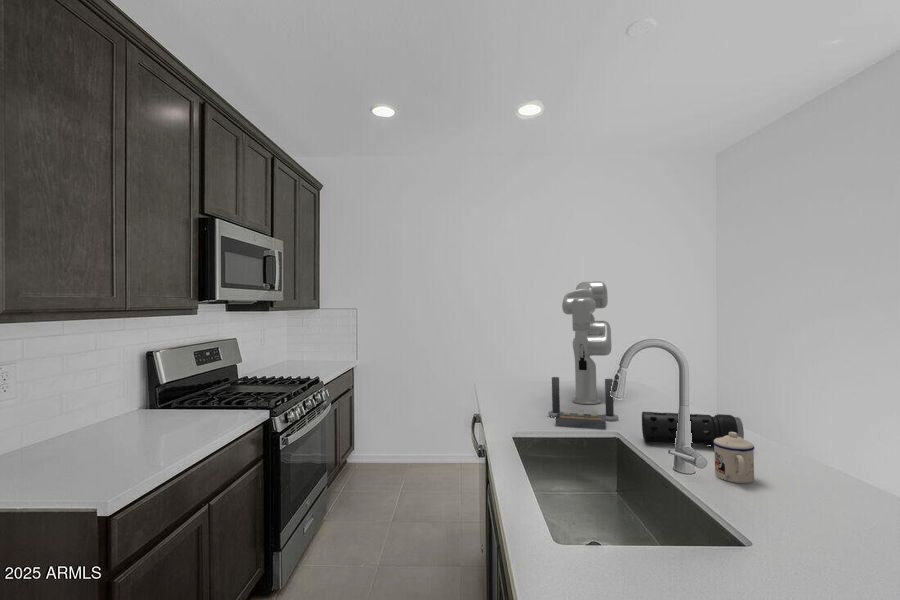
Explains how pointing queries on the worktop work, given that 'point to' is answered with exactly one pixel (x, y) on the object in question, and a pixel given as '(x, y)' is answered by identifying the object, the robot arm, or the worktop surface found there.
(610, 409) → the post
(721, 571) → the worktop surface
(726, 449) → the teacup with lid
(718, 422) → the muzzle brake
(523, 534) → the worktop surface
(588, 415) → the breaker panel
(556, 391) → the post
